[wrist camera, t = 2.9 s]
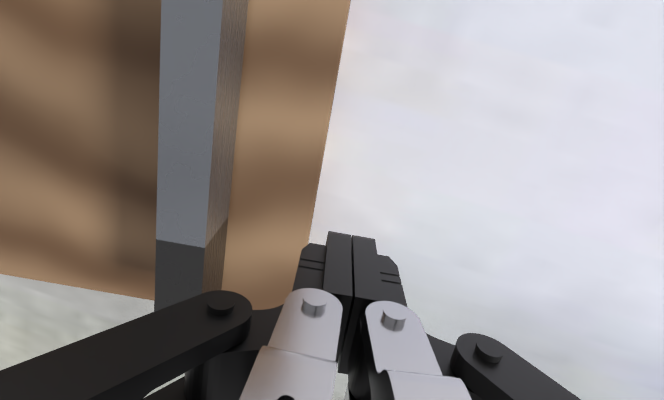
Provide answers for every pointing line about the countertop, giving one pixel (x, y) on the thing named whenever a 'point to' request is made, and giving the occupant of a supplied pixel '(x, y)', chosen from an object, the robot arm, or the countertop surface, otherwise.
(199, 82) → the lever
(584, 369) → the countertop surface
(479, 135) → the countertop surface
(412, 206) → the countertop surface
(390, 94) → the countertop surface
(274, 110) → the board
